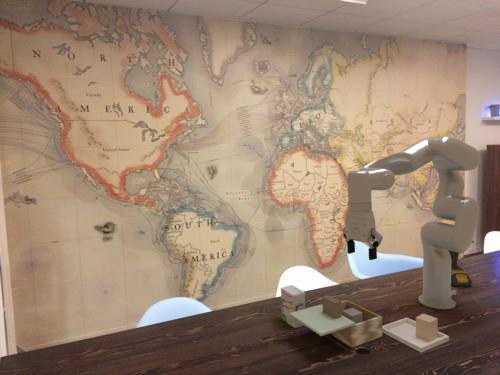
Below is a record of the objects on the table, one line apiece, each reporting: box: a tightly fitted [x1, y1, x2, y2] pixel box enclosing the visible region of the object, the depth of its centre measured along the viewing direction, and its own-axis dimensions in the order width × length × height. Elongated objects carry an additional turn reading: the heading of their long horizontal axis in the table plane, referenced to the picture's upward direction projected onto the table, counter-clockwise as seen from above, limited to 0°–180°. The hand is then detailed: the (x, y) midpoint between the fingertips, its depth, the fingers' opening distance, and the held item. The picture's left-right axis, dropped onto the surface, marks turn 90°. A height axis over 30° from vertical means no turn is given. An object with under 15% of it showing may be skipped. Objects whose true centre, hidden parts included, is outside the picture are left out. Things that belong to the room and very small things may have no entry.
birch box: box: [328, 299, 383, 348], centre depth 115 cm, size 13×16×7 cm
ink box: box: [280, 284, 306, 329], centre depth 124 cm, size 8×5×12 cm, turn 27°
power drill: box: [448, 240, 475, 288], centre depth 154 cm, size 20×9×25 cm, turn 179°
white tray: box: [382, 317, 450, 354], centre depth 111 cm, size 13×15×2 cm
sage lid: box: [290, 294, 355, 337], centre depth 109 cm, size 13×16×6 cm
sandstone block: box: [415, 313, 439, 342], centre depth 110 cm, size 4×4×6 cm
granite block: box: [342, 308, 363, 324], centre depth 116 cm, size 4×4×6 cm
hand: (361, 256), depth 121 cm, fingers open, 9 cm apart
